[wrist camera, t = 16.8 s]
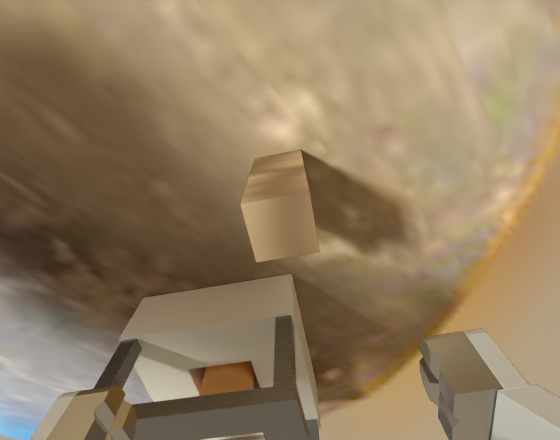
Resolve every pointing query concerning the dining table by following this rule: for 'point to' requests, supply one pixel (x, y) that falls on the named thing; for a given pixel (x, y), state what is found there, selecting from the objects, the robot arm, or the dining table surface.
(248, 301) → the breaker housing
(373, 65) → the dining table surface
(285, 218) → the wooden toy block
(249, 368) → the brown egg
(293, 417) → the guard frame
